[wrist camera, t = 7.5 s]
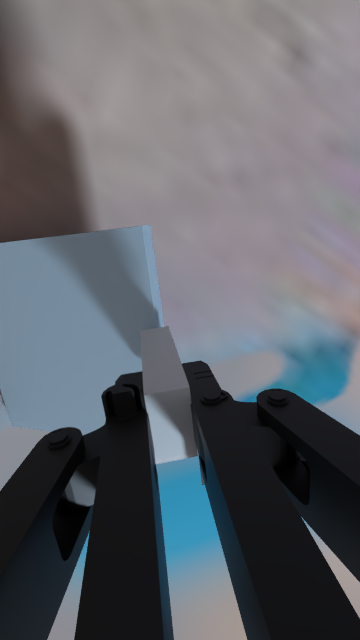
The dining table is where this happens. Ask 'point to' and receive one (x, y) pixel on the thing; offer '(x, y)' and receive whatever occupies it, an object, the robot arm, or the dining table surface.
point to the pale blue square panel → (73, 322)
